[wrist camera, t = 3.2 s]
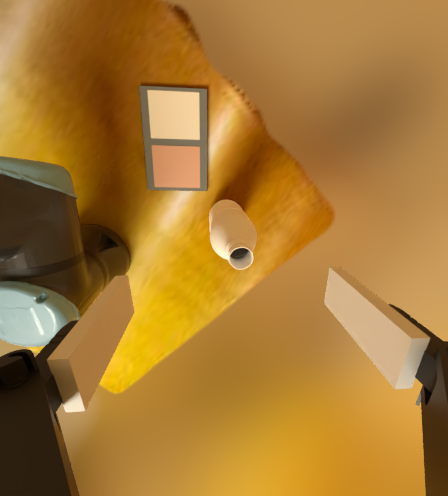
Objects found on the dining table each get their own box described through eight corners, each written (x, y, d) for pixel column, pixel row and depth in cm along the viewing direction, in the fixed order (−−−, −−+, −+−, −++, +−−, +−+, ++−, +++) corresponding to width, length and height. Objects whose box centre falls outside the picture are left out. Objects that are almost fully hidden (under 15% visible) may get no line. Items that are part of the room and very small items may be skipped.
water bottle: (241, 229, 52) (269, 283, 29) (209, 230, 52) (212, 286, 29) (241, 197, 50) (272, 227, 26) (208, 198, 49) (209, 230, 26)
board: (148, 189, 48) (147, 189, 47) (140, 87, 42) (138, 85, 41) (207, 190, 49) (207, 191, 48) (207, 90, 43) (207, 88, 42)
